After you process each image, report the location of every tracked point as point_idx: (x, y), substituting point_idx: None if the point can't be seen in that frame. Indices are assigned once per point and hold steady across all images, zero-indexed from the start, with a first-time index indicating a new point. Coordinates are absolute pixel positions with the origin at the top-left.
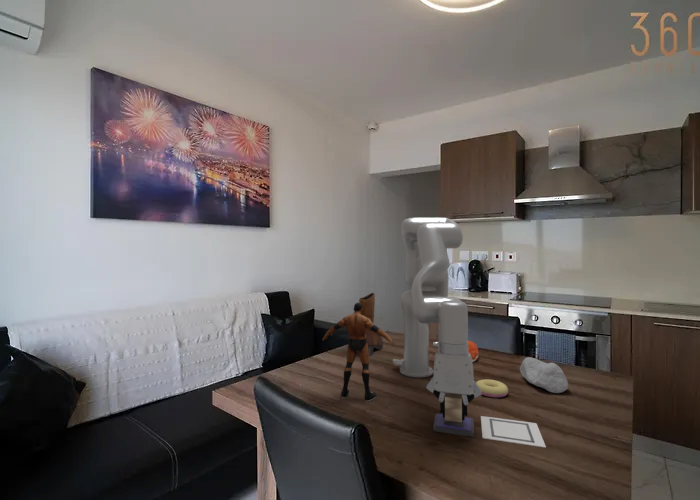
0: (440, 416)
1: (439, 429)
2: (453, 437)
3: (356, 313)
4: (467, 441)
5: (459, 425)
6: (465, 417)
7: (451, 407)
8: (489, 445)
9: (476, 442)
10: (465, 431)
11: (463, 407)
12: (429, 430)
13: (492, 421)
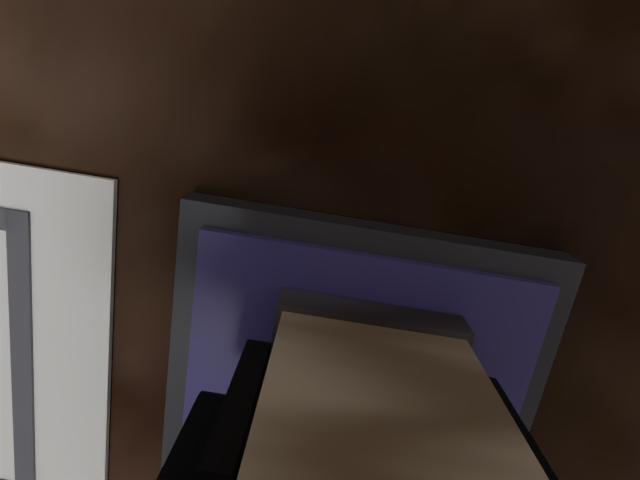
0: None
1: (516, 248)
2: (388, 158)
3: None
4: (264, 100)
5: (311, 294)
6: None
7: (425, 438)
8: (65, 56)
9: (181, 95)
10: (263, 219)
11: (221, 446)
12: (599, 257)
13: (13, 463)
